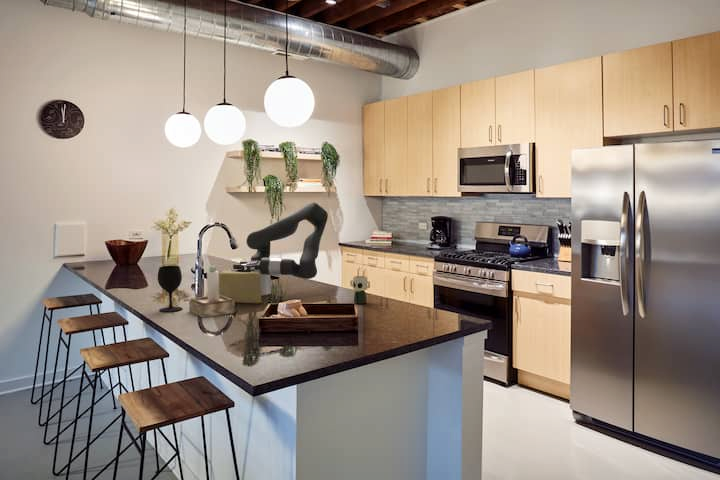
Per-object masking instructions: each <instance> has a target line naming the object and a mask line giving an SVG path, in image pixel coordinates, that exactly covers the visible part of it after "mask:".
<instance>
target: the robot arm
mask: <svg viewBox="0 0 720 480" xmlns="http://www.w3.org/2000/svg"><path fill="white" fill-rule="evenodd" d="M328 217H329V214H328V212H327V210H325V209H324V208H323V206H320V205H319V204H318V203H317V202H311V203H308V204H306V205H304V206H303V207H302V208H300V209H298V210H297V211H295V212H294V213H292V214H290V215H288V216H285V217H283V218H281V219H279V220H277V221H276V222H273V223H272V224H269V225H268V226H266V227H264V228H261V229H259V230H257V231H252V232H251V233H249V234H248V235H247V237H246V245H247V247H248V248H250V249H251V250H254V251H255V250H256V252H255V254H253V255H252V256H251V258H250V260H249V261H246V260H245V261H240V262H239V263H237V264H236V263H234V264H232V266H233V267H232V269H233V270H240V272H258V273H259V274H260V281H261V297H262V296H268V295H271V294H272V292H271V291H272V289H271V288H272V284H271V278H272V277H271V276H280V275H281V276H292V277H295V278H299V279H304V280H311V279H314V278H315V277H316V276H317V274H318V269H317V265H316V259H317V258H318V255H319V252H320V251H319V249H320V244H321V239H322V236H323V234H324V231H325V228H326V226H327V225H326V224H327V222H328ZM302 221H307V222H308V223H310V224H311V225H312V226H313V227H314V228H313V232H312V233H310V234H309V235H307V237H306V238H305V240H304V242H303V248H302V253H301V256H300V257H299V258H300V259H299V264H298V263H297V262H296V261H295V260H294V259H292V258H291V259H290V258H289V259H288V258H278V257H277V258H276V257H275V258H274V257H271V242H274V241H279V240H282V239H286V238H288V237H289V236H292V235H294V234H295V233H296V231H297V229H298V227H299V225H300V222H302ZM245 267H246V268H245Z"/></svg>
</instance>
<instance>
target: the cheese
mask: <svg viewBox="0 0 720 480" xmlns="http://www.w3.org/2000/svg"><path fill="white" fill-rule="evenodd" d="M218 272H219V295H222V296H225V297H227V298H230V299H233V301H234V303H243V304H246V303H247V304H260V303H262V296H261V281H260V274H259V273H258V272H251V271H234V270H223V271H218Z"/></svg>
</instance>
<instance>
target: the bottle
mask: <svg viewBox="0 0 720 480" xmlns="http://www.w3.org/2000/svg"><path fill="white" fill-rule="evenodd" d="M219 272H220V271H219V270H217V266H216V265H210V266H209V270H208V271H206V278H207V279H206V280H207V281H206V284H207V296H208V302H214V301H220V299H219Z"/></svg>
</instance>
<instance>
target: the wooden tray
mask: <svg viewBox="0 0 720 480" xmlns="http://www.w3.org/2000/svg"><path fill="white" fill-rule="evenodd" d="M219 299H220V301H214V302H208V295H206V296H200V297H199V296H198V297H192V298H190V300H188V302H189V303H188V305H189V307H188V309H189V310H188V311H189V312H190V313H192V314H194V315H196V316H198V317H200V318H209V317H214V316H215V317H216V316H221V315H228V314H234V313H235V302H234V301H233V299H230V298H227V297H225V296H222V295H219Z"/></svg>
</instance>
